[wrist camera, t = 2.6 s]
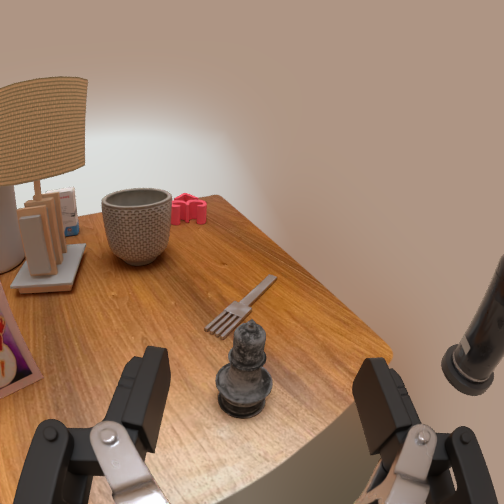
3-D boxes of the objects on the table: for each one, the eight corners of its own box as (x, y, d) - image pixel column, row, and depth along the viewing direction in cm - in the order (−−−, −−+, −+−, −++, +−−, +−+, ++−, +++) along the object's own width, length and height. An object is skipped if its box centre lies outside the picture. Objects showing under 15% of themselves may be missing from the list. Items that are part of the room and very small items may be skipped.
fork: (265, 276, 54) (265, 272, 53) (280, 281, 53) (281, 278, 52) (204, 330, 38) (204, 327, 38) (223, 340, 37) (223, 336, 37)
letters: (169, 208, 84) (169, 193, 82) (201, 208, 87) (202, 192, 85) (169, 225, 72) (169, 207, 70) (207, 224, 75) (207, 206, 73)
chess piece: (204, 398, 28) (202, 318, 23) (239, 372, 32) (247, 291, 27) (244, 430, 25) (257, 355, 20) (278, 398, 29) (299, 319, 24)
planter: (176, 244, 62) (176, 188, 57) (167, 276, 50) (165, 208, 44) (119, 242, 60) (115, 187, 55) (98, 273, 48) (89, 207, 42)
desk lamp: (28, 254, 50) (14, 100, 35) (101, 248, 57) (97, 85, 42) (-2, 303, 34) (-33, 99, 19) (89, 299, 41) (73, 70, 25)
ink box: (79, 228, 66) (75, 185, 60) (78, 235, 62) (72, 190, 56) (51, 232, 62) (46, 190, 57) (48, 239, 58) (41, 195, 53)
